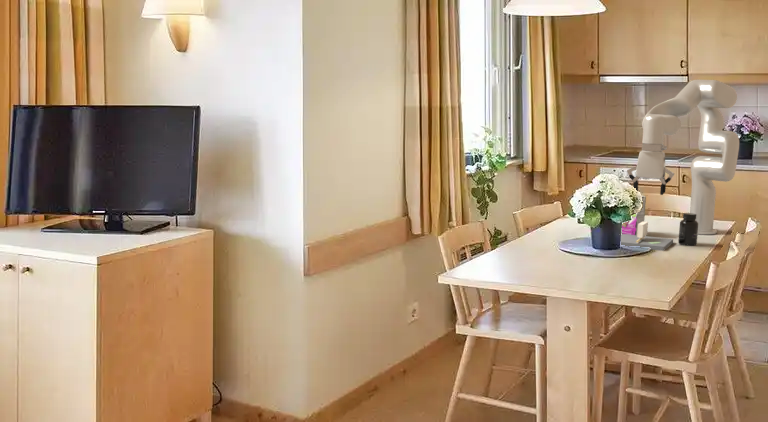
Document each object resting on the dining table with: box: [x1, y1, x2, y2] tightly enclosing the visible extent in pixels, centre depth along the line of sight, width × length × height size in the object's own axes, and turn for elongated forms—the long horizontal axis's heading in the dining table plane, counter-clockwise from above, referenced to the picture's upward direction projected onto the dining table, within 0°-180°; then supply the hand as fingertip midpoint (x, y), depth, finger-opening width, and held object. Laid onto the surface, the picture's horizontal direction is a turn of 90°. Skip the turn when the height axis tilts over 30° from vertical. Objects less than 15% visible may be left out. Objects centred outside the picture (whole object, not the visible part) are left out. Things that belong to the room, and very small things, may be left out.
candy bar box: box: [622, 195, 647, 235], centre depth 362 cm, size 11×5×16 cm, turn 34°
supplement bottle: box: [678, 212, 699, 247], centre depth 344 cm, size 7×7×12 cm
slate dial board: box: [621, 234, 674, 251], centre depth 344 cm, size 18×20×2 cm
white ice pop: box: [636, 220, 649, 242], centre depth 341 cm, size 12×2×6 cm, turn 151°
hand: (648, 193), depth 339 cm, fingers open, 9 cm apart
